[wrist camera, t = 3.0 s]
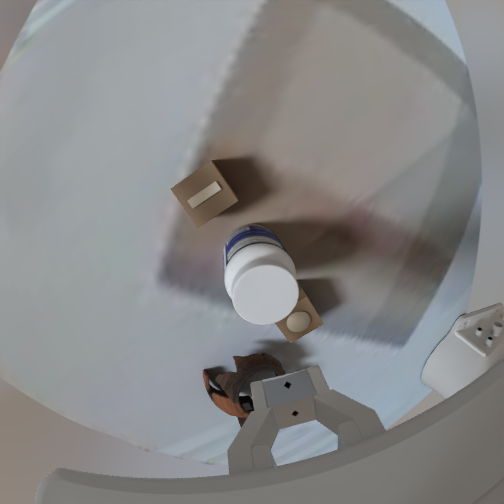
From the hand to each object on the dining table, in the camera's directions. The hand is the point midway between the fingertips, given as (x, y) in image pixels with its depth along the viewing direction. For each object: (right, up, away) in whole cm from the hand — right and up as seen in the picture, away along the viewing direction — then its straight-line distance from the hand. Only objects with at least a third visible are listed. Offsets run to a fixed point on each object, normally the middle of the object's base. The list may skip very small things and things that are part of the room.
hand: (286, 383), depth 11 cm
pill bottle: (-1, +6, +17) cm, 19 cm away
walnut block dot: (+3, 0, +20) cm, 20 cm away
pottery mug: (-3, -10, +23) cm, 25 cm away
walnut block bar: (-6, +12, +15) cm, 20 cm away
